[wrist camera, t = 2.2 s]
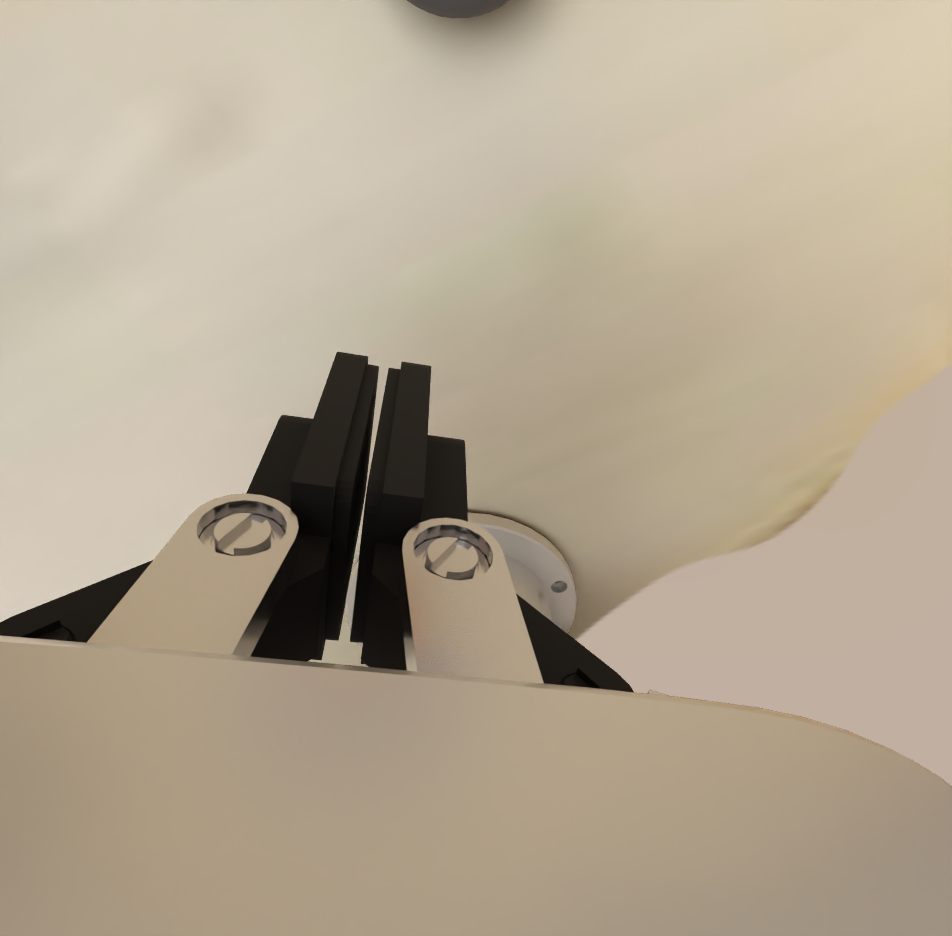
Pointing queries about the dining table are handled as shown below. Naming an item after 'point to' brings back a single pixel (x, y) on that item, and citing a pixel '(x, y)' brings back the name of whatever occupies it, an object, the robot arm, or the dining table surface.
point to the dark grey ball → (458, 7)
